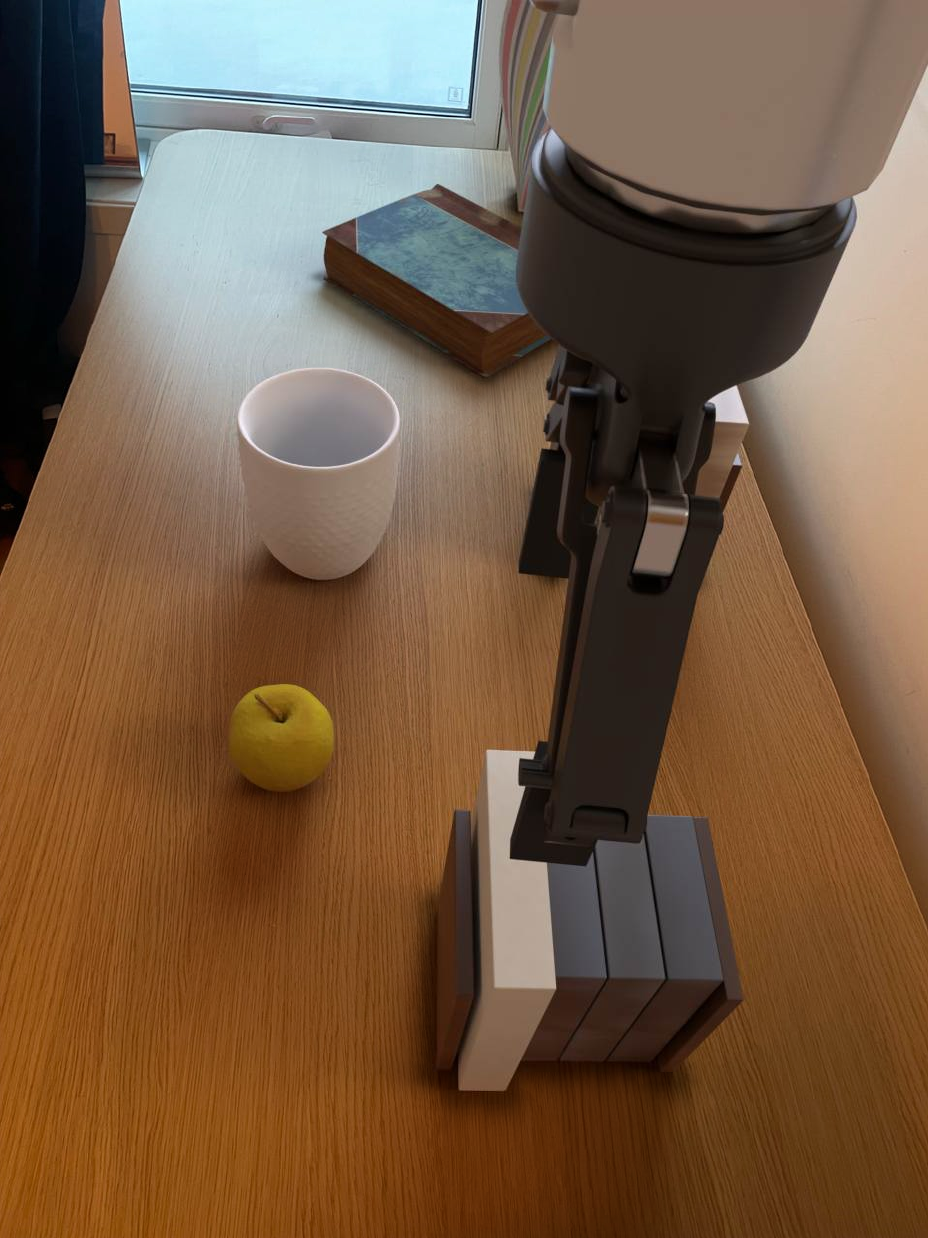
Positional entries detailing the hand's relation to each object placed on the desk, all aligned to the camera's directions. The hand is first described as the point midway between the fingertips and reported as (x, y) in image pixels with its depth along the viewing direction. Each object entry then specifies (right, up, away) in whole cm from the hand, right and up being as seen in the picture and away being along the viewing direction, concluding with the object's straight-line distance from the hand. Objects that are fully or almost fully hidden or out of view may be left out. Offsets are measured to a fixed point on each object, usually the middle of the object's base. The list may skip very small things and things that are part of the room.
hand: (548, 695), depth 37 cm
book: (-4, +37, +61) cm, 71 cm away
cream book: (-2, -17, +15) cm, 23 cm away
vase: (+6, +53, +75) cm, 92 cm away
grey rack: (+2, -18, +16) cm, 24 cm away
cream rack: (+9, +10, +40) cm, 42 cm away
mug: (-14, +9, +36) cm, 40 cm away
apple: (-15, -7, +23) cm, 28 cm away
